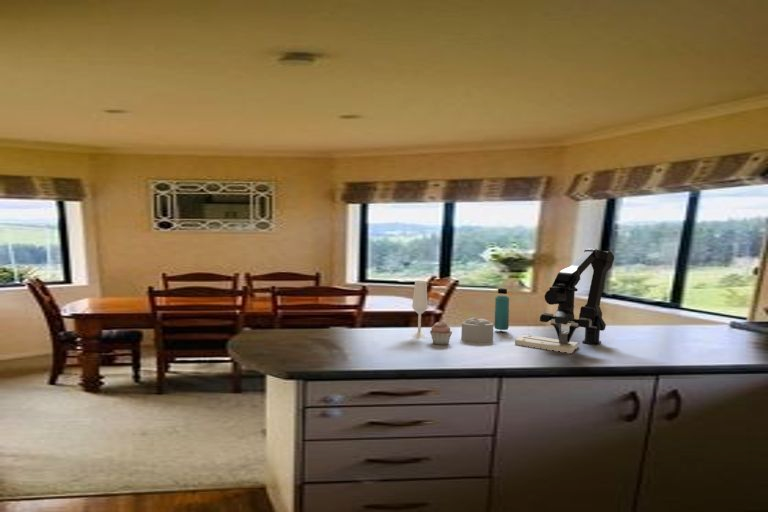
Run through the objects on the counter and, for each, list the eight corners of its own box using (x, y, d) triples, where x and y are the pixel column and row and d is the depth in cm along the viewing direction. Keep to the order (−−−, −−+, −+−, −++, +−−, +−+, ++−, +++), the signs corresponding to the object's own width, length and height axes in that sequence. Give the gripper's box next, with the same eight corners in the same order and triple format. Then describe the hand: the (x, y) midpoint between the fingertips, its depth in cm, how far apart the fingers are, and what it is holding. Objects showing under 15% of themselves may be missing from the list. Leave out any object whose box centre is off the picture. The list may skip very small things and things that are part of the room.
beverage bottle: (508, 333, 213) (510, 289, 212) (493, 332, 215) (495, 289, 213) (508, 330, 220) (509, 288, 218) (493, 329, 221) (495, 287, 220)
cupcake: (427, 340, 198) (428, 316, 197) (449, 340, 198) (450, 317, 198) (431, 346, 188) (432, 321, 188) (454, 346, 189) (455, 321, 188)
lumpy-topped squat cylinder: (495, 341, 199) (496, 321, 198) (467, 343, 195) (468, 322, 194) (483, 335, 208) (484, 316, 208) (456, 337, 205) (457, 317, 204)
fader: (561, 340, 192) (562, 330, 192) (569, 341, 190) (570, 331, 190) (558, 343, 188) (559, 333, 187) (566, 344, 186) (567, 334, 186)
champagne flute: (427, 338, 201) (429, 282, 200) (411, 337, 201) (413, 282, 200) (426, 334, 208) (427, 280, 206) (411, 334, 208) (412, 280, 206)
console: (524, 338, 204) (524, 334, 204) (577, 347, 192) (578, 342, 192) (515, 344, 194) (515, 339, 194) (571, 353, 182) (571, 348, 182)
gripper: (536, 302, 186) (534, 341, 187) (587, 308, 176) (584, 349, 177) (544, 299, 196) (542, 336, 197) (593, 304, 185) (590, 343, 186)
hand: (564, 341), depth 189 cm, fingers closed on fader, 3 cm apart
